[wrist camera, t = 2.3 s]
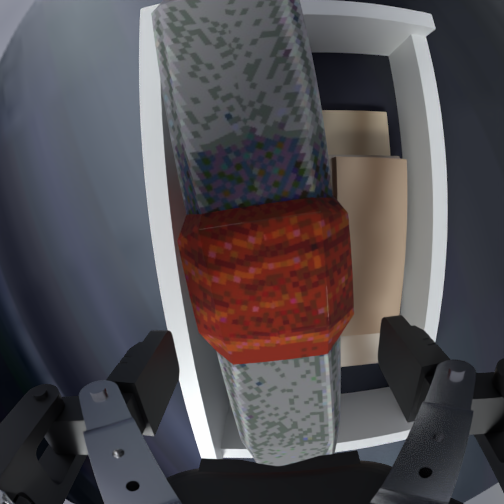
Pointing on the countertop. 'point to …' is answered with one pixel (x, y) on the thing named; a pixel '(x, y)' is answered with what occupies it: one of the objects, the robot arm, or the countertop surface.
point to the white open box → (418, 216)
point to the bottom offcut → (356, 132)
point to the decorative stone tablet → (259, 216)
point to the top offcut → (374, 235)
